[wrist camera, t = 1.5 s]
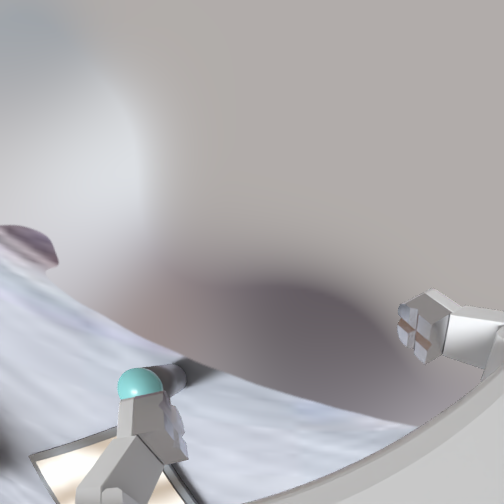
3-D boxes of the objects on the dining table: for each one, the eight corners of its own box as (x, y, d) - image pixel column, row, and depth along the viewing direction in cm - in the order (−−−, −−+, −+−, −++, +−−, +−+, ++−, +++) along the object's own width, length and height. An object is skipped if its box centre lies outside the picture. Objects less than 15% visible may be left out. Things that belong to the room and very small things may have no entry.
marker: (193, 384, 32) (168, 402, 19) (168, 396, 31) (130, 418, 19) (179, 359, 33) (147, 361, 20) (154, 370, 32) (110, 378, 20)
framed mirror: (208, 517, 26) (207, 521, 25) (90, 543, 23) (87, 547, 22) (142, 415, 30) (139, 417, 29) (32, 454, 27) (27, 456, 26)
